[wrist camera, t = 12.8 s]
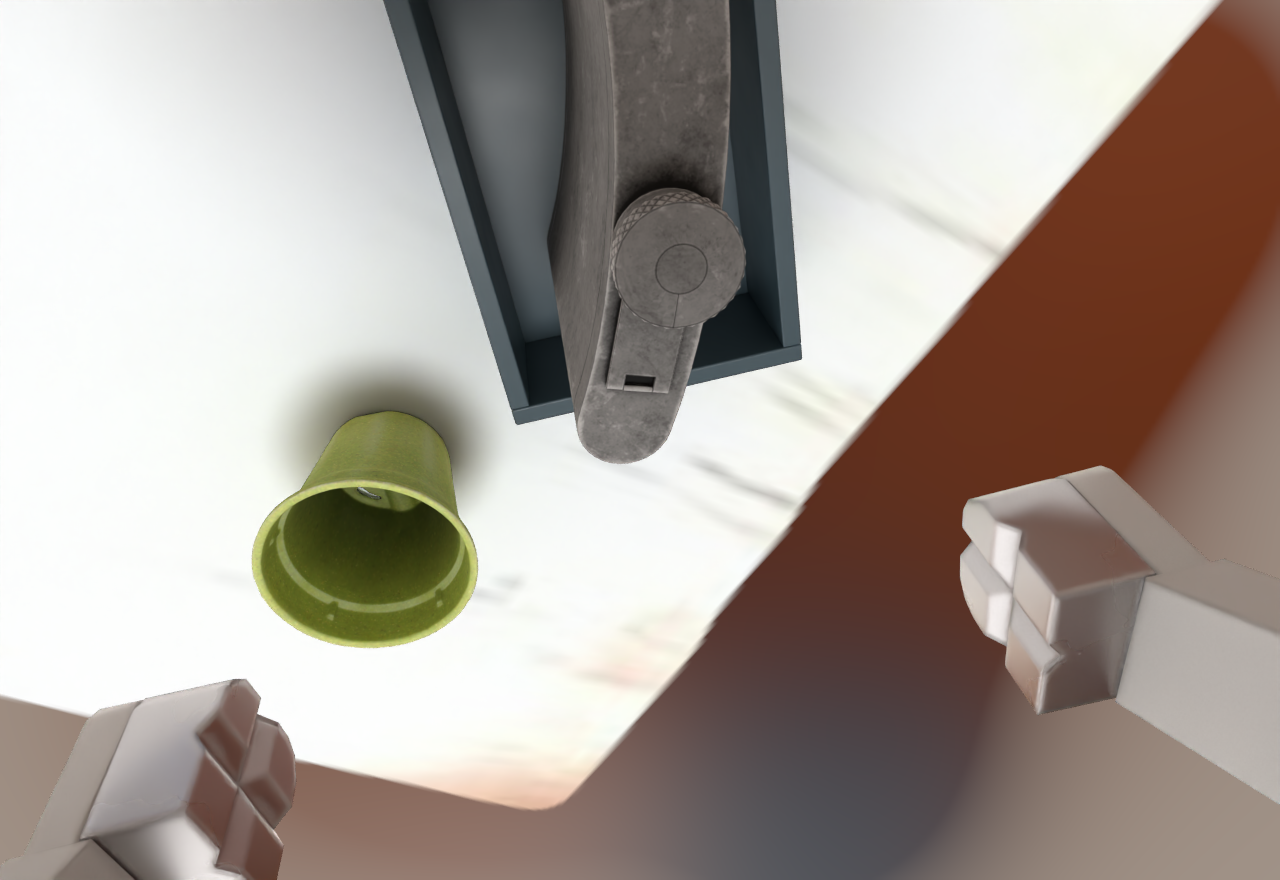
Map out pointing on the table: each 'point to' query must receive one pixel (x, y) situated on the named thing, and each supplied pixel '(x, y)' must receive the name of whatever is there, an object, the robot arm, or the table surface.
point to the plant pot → (370, 539)
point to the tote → (530, 168)
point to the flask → (641, 212)
